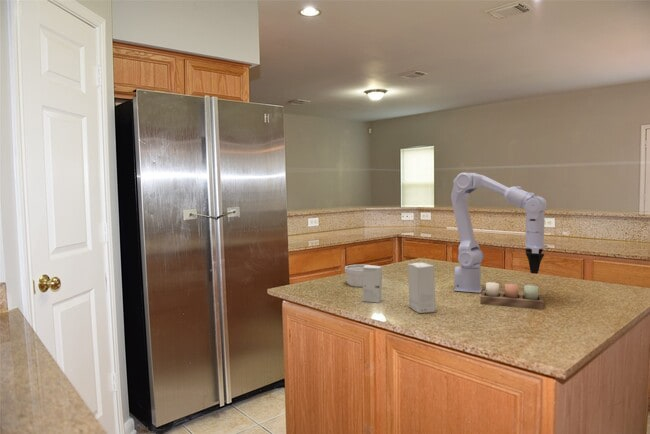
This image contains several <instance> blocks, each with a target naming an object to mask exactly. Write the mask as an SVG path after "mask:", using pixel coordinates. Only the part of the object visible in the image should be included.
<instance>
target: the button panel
mask: <svg viewBox="0 0 650 434" xmlns="http://www.w3.org/2000/svg"><path fill="white" fill-rule="evenodd" d="M479 300H480V302H479V303H480V305H488V306H489V305H490V306H500V307H501V306H502V307H511V308H512V307H514V308H521V309H523V308H524V309H525V308H526V309H535V310H544V299H543V295H542V294H538V299H537V300H532V299H525V298H524V293H519V292H518V298H507V297H505V291H499V296H497V297H495V296H487V295H486V290H482V291H481V293H480V298H479Z"/></svg>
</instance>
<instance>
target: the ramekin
mask: <svg viewBox="0 0 650 434" xmlns="http://www.w3.org/2000/svg"><path fill="white" fill-rule="evenodd" d="M365 265H366V264H350V265H346V266H345V267H344V272H345V280H346V283H347V285H349V286H351V287H356V288H363V267H364V266H365Z"/></svg>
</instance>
